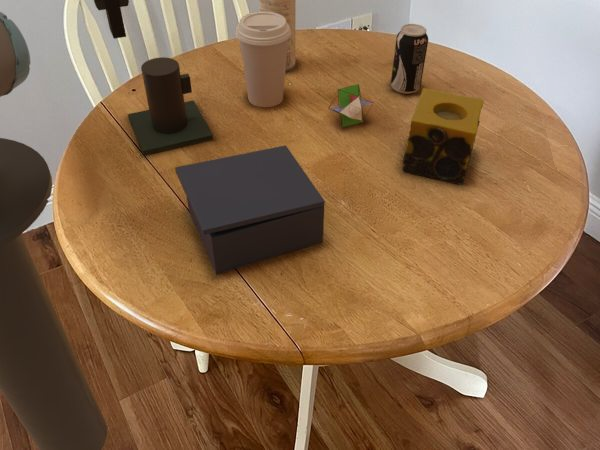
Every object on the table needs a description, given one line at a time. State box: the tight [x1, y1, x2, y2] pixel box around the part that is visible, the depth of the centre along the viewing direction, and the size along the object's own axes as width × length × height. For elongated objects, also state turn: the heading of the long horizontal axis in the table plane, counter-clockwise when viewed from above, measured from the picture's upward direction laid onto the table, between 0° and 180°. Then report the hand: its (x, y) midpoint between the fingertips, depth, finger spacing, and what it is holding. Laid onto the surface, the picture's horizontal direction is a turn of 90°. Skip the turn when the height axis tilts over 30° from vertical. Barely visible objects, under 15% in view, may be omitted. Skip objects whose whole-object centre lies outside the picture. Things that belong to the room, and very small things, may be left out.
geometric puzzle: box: [327, 83, 374, 128], centre depth 102 cm, size 7×7×8 cm
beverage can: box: [390, 23, 429, 95], centre depth 108 cm, size 6×6×12 cm
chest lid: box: [174, 144, 326, 235], centre depth 79 cm, size 16×14×1 cm
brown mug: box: [140, 56, 193, 134], centre depth 98 cm, size 7×6×11 cm
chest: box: [185, 195, 325, 275], centre depth 82 cm, size 16×14×7 cm
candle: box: [401, 87, 485, 185], centre depth 93 cm, size 10×10×10 cm
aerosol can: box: [258, 0, 297, 73], centre depth 112 cm, size 7×7×20 cm
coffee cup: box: [234, 11, 291, 108], centre depth 105 cm, size 10×10×15 cm
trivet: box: [127, 100, 214, 157], centre depth 102 cm, size 12×12×1 cm
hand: (117, 32), depth 71 cm, fingers closed
